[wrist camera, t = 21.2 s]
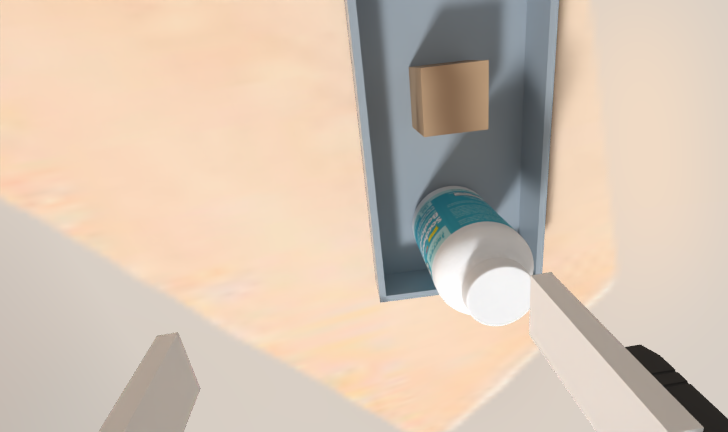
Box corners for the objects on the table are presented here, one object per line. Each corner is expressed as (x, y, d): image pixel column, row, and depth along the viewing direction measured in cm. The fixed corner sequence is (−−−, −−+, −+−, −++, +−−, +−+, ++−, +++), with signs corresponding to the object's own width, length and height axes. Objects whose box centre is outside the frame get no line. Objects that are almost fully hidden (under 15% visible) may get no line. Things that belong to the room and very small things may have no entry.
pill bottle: (408, 188, 37) (444, 252, 25) (486, 179, 38) (561, 238, 25) (412, 259, 40) (447, 349, 28) (485, 250, 40) (553, 336, 28)
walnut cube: (467, 60, 34) (488, 60, 29) (468, 120, 36) (488, 129, 31) (408, 67, 34) (420, 68, 29) (412, 127, 35) (424, 137, 31)
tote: (341, -25, 31) (342, -38, 27) (532, -46, 32) (562, -62, 28) (375, 277, 41) (380, 302, 37) (520, 258, 42) (541, 281, 38)
